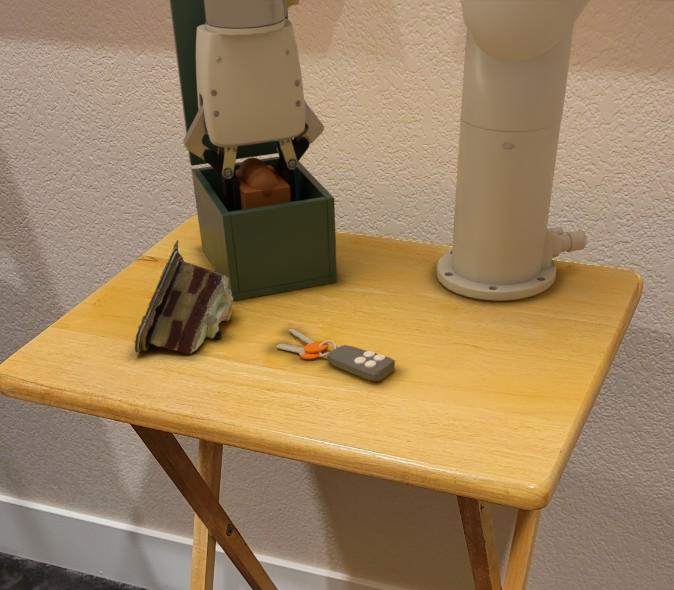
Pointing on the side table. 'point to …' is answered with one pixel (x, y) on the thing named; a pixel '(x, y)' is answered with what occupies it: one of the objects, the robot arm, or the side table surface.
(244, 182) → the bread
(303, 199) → the box
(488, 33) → the robot arm
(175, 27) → the bread lid
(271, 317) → the side table surface
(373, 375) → the key chain
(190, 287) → the chocolate cake
